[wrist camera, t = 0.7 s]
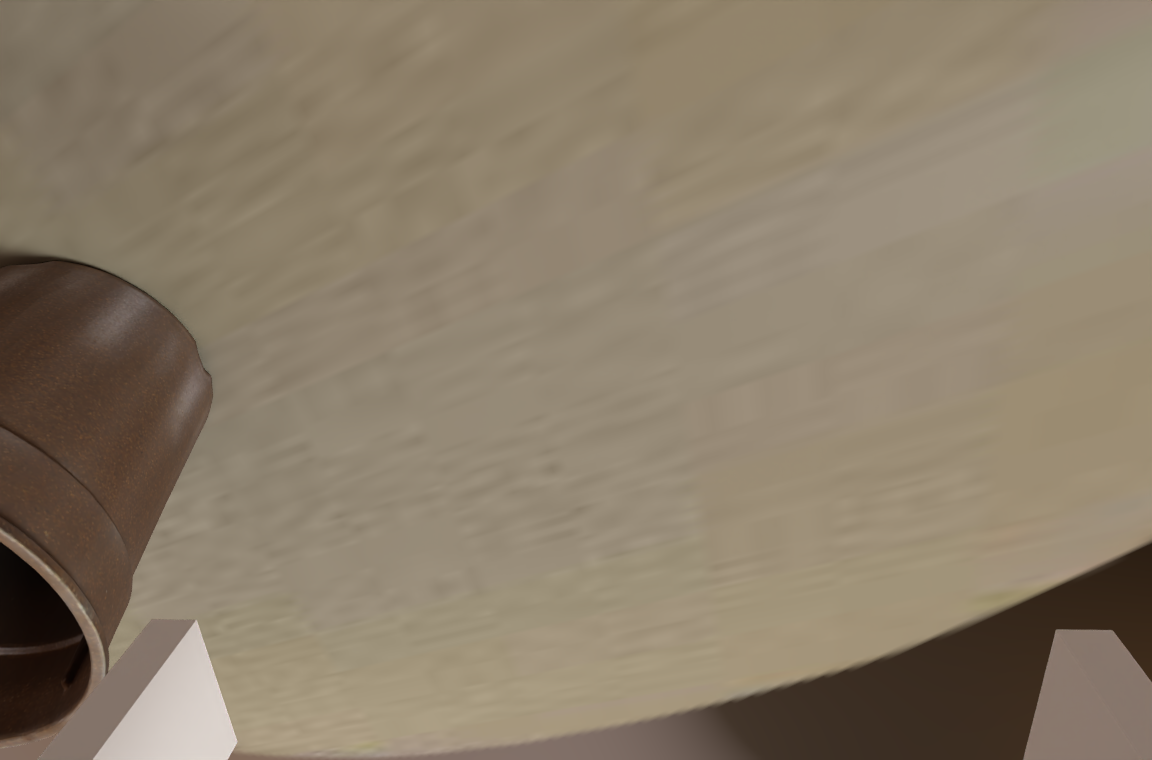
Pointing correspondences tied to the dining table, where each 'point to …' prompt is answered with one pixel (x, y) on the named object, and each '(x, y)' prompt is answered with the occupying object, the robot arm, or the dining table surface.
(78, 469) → the plant pot
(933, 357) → the dining table surface
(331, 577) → the dining table surface
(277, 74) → the dining table surface
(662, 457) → the dining table surface
